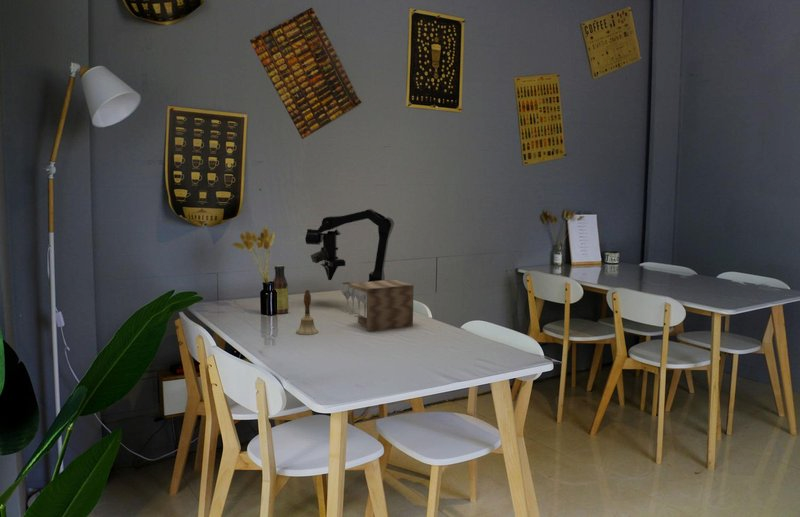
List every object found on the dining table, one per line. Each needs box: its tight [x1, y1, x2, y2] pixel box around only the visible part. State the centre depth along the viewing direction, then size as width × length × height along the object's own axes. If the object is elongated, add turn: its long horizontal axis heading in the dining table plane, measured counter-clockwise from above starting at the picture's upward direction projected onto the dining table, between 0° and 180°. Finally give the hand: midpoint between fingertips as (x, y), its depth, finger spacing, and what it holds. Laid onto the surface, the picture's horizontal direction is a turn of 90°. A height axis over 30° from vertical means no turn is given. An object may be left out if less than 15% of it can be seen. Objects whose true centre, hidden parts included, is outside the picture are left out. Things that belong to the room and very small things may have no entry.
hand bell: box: [295, 289, 319, 336], centre depth 248 cm, size 8×8×16 cm
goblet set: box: [340, 281, 367, 318], centre depth 276 cm, size 28×6×13 cm, turn 29°
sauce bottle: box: [272, 264, 289, 315], centre depth 280 cm, size 6×6×20 cm
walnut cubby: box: [349, 279, 415, 333], centre depth 261 cm, size 20×15×16 cm
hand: (329, 280), depth 297 cm, fingers closed
